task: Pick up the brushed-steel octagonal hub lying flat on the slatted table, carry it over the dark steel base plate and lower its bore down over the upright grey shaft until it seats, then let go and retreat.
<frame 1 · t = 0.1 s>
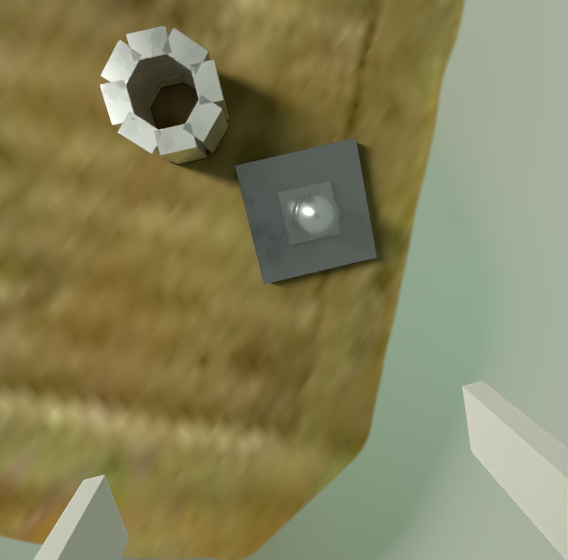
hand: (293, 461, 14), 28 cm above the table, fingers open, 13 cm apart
hub: (180, 113, 37), on the table
shaft block: (306, 212, 39), on the table
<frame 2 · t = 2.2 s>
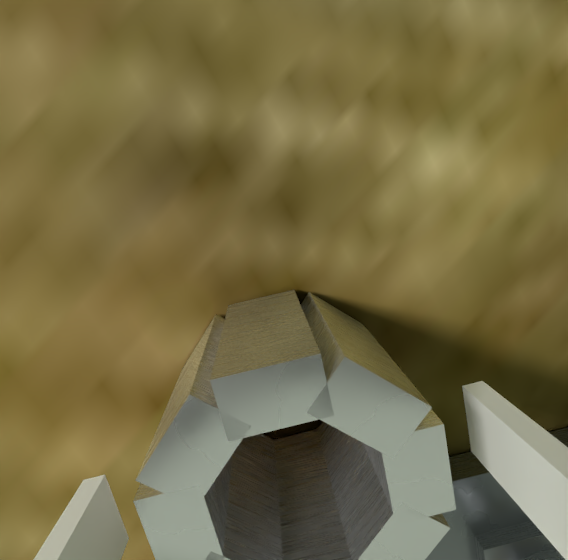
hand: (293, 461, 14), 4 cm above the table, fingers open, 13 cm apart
hub: (283, 387, 18), on the table
shaft block: (509, 537, 21), on the table
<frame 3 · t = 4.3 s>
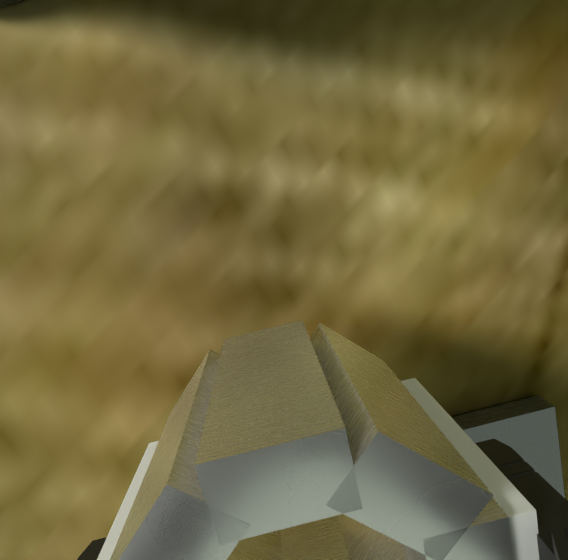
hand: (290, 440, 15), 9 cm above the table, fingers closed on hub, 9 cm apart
hub: (289, 434, 15), point 8 cm above the table, touching gripper
shaft block: (462, 496, 26), on the table
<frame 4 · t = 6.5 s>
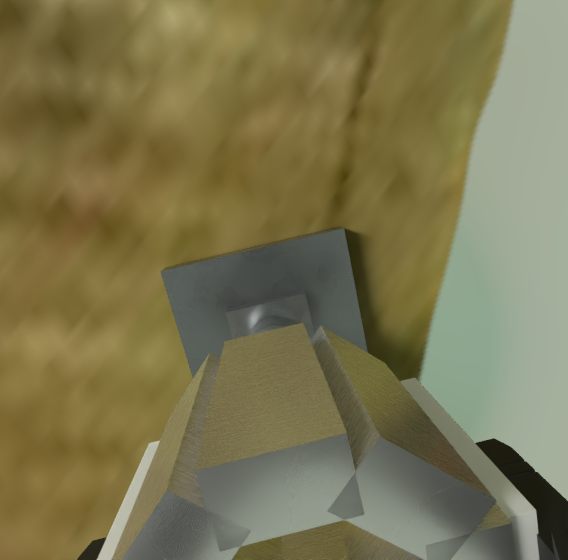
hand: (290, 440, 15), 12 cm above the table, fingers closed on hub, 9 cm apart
hub: (290, 437, 15), point 12 cm above the table, touching gripper
shaft block: (273, 328, 27), on the table
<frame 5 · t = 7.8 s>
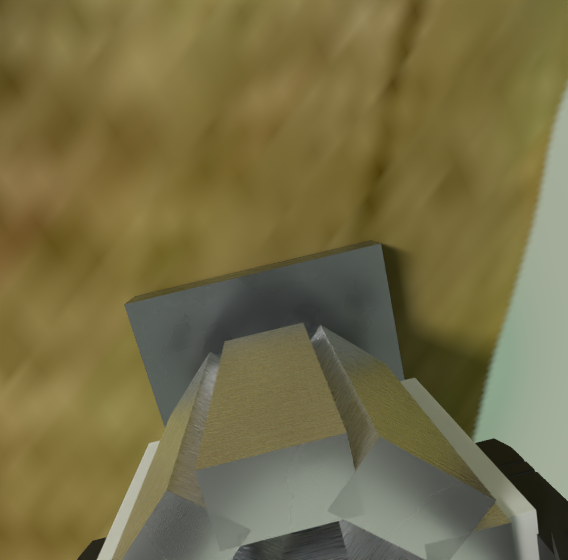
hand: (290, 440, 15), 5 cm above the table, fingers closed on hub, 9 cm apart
hub: (290, 436, 15), point 5 cm above the table, touching gripper
shaft block: (281, 377, 20), on the table
when the fingers open (4 cm above the table, at t = 9.0 s): hub drops 1 cm, resting on shaft block.
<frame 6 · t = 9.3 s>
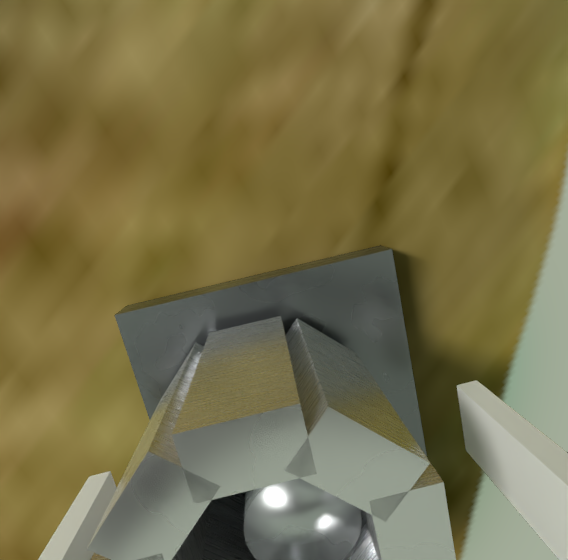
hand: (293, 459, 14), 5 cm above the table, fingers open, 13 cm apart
hub: (270, 420, 16), point 2 cm above the table, touching shaft block
shaft block: (283, 391, 19), on the table
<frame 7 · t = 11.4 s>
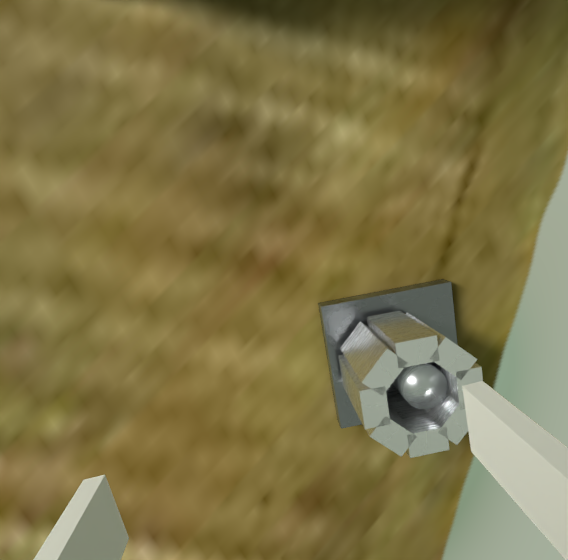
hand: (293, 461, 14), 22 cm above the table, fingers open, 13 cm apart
hub: (389, 361, 34), point 2 cm above the table, touching shaft block
shaft block: (389, 351, 36), on the table
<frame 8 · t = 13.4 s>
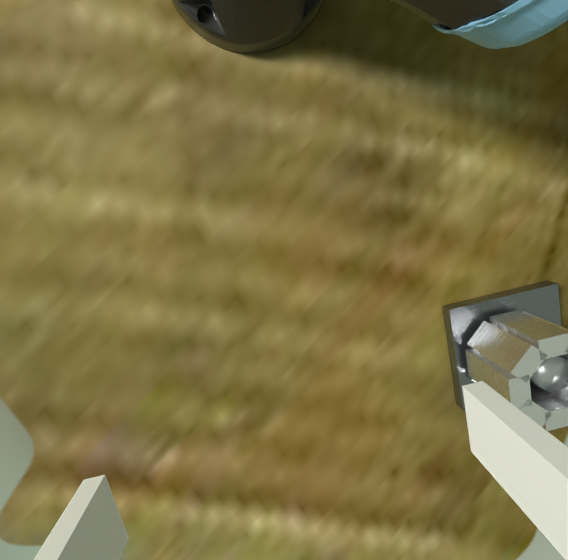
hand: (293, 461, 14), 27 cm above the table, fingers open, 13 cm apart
hub: (507, 352, 41), point 2 cm above the table, touching shaft block
shaft block: (500, 343, 43), on the table
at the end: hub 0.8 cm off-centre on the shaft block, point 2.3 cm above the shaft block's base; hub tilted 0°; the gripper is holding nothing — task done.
